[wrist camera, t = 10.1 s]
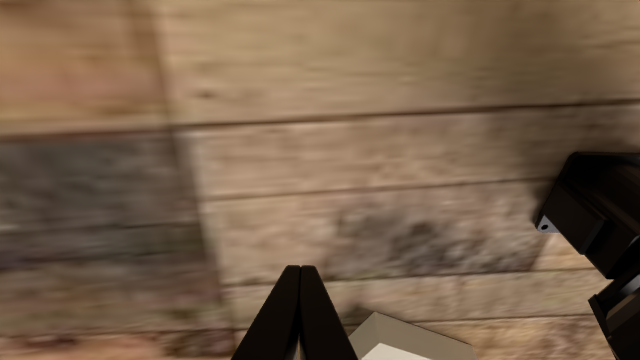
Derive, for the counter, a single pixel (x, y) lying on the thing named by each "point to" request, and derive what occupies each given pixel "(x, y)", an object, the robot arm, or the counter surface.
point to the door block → (404, 342)
